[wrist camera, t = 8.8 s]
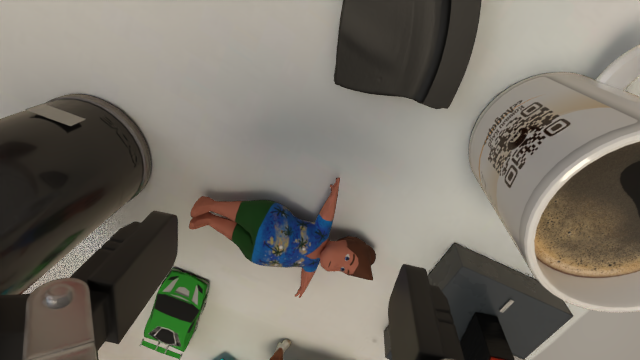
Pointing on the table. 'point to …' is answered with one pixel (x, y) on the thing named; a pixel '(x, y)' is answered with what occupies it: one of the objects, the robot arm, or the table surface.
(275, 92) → the table surface
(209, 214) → the toy character
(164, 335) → the toy car
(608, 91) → the mug
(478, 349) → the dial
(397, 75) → the fan shaped piece
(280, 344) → the bull figurine
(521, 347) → the dial panel
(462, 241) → the table surface
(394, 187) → the table surface
